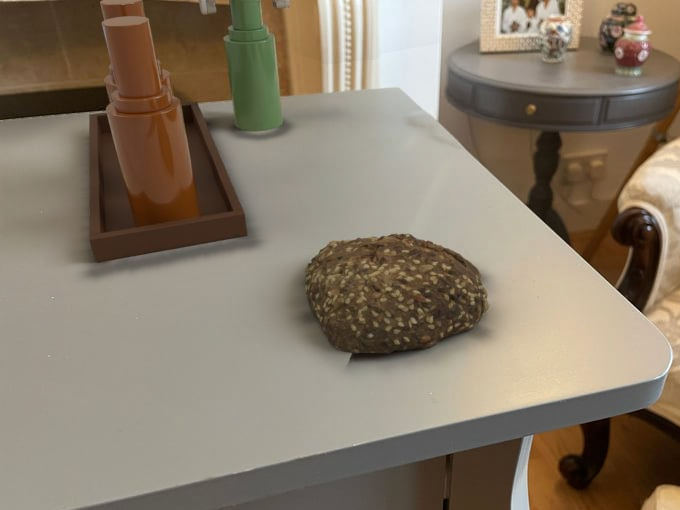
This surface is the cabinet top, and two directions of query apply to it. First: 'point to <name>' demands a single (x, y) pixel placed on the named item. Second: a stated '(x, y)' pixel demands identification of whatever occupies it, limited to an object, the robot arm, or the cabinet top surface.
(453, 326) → the bread roll
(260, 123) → the green bottle
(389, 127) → the cabinet top surface
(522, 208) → the cabinet top surface
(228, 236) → the tray
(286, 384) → the cabinet top surface
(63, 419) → the cabinet top surface
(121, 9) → the amber bottle middle
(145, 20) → the amber bottle near
